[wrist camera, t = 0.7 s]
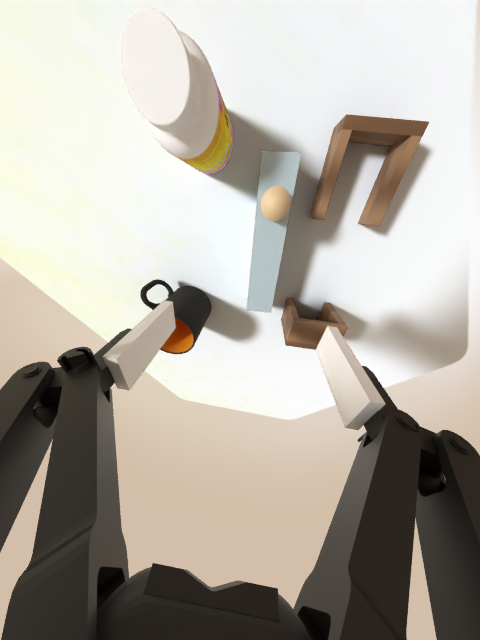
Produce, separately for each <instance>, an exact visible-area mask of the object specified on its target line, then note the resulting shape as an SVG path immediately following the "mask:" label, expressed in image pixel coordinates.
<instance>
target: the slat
mask: <svg viewBox="0 0 480 640" xmlns="http://www.w3.org/2000/svg"><path fill="white" fill-rule="evenodd" d="M300 157H301V152H282V151H262V153H261V164H260V175H259V185H258V196H257V207H256V217H255V228H254V238H253V249H252V260H251V270H250V281H249V291H248V302H247V310H251V311H260V312H270V313H271V310H272V305H273V300H274V294H275V289H276V284H277V278H278V273H279V268H280V263H281V257H282V252H283V247H284V241H285V236H286V231H287V226H288V220H289V215H290V210H291V204H292V199H293V194H294V189H295V183H296V178H297V173H298V167H299V162H300Z"/></svg>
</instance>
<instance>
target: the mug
mask: <svg viewBox="0 0 480 640" xmlns="http://www.w3.org/2000/svg"><path fill="white" fill-rule="evenodd" d="M156 284H161V285H163V286H165V287H166V288H167V290H168V292H169V295H168V298H167V299H166V300H165V301H171V302H173V308H174V316H175V325H176V328H175V330H174V331H173V332H172V334H171V335H170V336H169V338H168V339H167V340H166V342H165V343H164V344H163V346H162V347H161V349H160V350H162V351H164V352H167V353H171V354H183V353H186V352H188V351H190V350H191V349H192V348H193V346H194V344H195V342H196V340H197V338H198V336H199V334H200V332H201V330H202V328H203V326H204V324H205V322H206V320H207V318H208V316H209V314H210V312H211V303H210V300H209V298H208V297H207V295H206V294H205V293H204V292H203V291H201V290H200V289H198V288H195V287H192V286H183V287H180V288H178V289H177V290H176V291H175V292H173V290H172V288H171V287H170V286H169V285H168V284H167V283H166V282H164V281H162V280H153V281H151V282H150V283H148V284H147V285H145V286H144V287H143V288H142V290H141V299H142V301H143V302H144V304H146V305H147V306H148V307H150V308H151V309H152V310H154V309H155V308H156V307H157V306H158V305H159V304H161V303H159V304H154V303H152V302H150V301H149V300H148V299H147V296H146V294H147V291H148V290H149V289H151V288H152V287H153V286H155V285H156Z"/></svg>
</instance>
